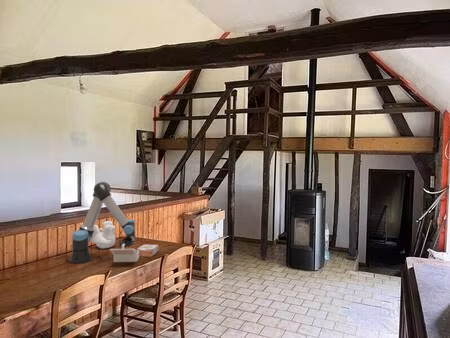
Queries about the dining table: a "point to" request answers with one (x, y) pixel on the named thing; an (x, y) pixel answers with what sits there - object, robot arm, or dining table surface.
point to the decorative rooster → (104, 235)
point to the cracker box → (148, 250)
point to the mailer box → (127, 257)
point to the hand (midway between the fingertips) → (122, 247)
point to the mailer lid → (123, 251)
